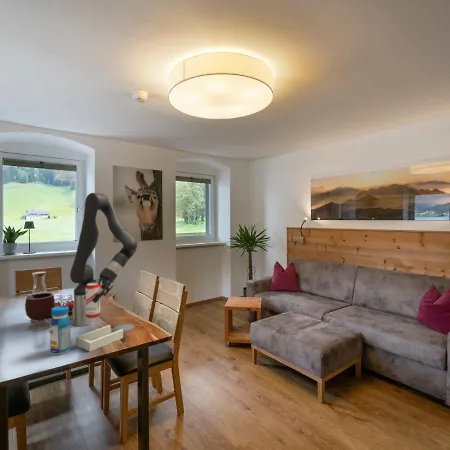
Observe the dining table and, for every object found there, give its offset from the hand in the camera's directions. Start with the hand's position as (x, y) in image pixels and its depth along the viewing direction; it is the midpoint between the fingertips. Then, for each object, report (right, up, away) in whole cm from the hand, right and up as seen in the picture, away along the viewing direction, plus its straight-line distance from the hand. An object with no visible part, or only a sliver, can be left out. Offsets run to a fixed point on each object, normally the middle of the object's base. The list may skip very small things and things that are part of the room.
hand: (89, 300), depth 138 cm
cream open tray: (+3, -21, +5) cm, 22 cm away
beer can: (+1, -8, +2) cm, 9 cm away
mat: (+9, -21, +21) cm, 30 cm away
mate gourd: (-39, -21, +24) cm, 50 cm away
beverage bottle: (-11, -22, -5) cm, 25 cm away
